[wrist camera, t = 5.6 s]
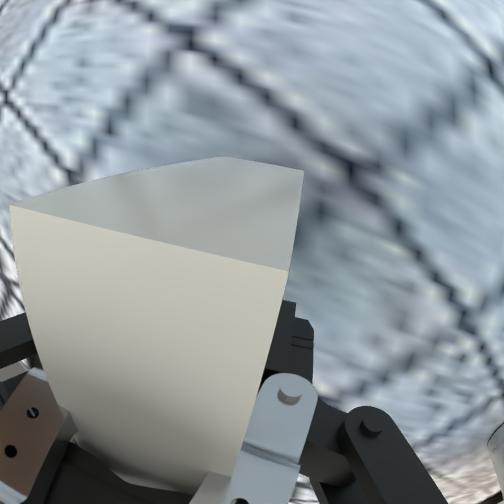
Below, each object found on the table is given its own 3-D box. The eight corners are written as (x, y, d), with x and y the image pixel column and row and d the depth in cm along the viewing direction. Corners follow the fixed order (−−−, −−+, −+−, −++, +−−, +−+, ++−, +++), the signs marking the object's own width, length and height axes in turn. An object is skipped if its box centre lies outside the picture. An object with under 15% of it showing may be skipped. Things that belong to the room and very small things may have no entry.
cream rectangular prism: (304, 171, 10) (289, 272, 2) (257, 377, 14) (208, 543, 6) (224, 156, 11) (8, 205, 2) (199, 362, 14) (122, 513, 6)
